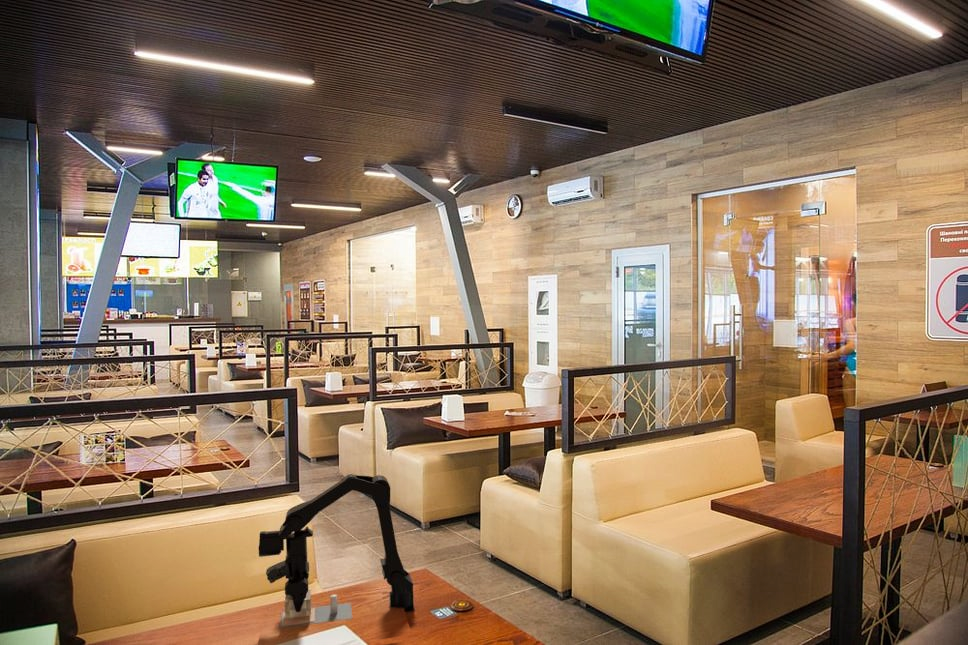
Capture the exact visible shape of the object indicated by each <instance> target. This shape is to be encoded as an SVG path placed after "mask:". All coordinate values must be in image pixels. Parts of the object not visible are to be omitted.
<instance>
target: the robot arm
mask: <svg viewBox="0 0 968 645" xmlns="http://www.w3.org/2000/svg"><path fill="white" fill-rule="evenodd" d="M352 491H354V492H359V493H362V494H365V495H368V496H372V498H373V502H374V504H375V507H376V510H377V514H378V516H377V517H378V519H379V527H380V532H381V538H382V543H383V548H384V558H380V559H379V560H380V566H381V572H382V577H383V579H384V580H386V583H387V584H388V585H390V589H391V590H390V591H389V593H388V594H389V597H388V598H389V606H390V608H398V609H403V611H404V612H409V611H415V610H416V608H415V605H414V582H413V580H412V577H411V575H410V573H409V572H408V571H407V570H406V569H405V568H404V565H403V563H402V560H401V558H400V554H399V552H398V547H397V541H396V536H395V530H394V526H393V518H392V512H391V508H390V507H391V485H390V482H389V481H388V479H387V477H385V475H380V474H379V475H378V474H377V475H375V476H370V475H357V474H354V473H350V474H347V475H346V476H345V477H344V478H343V479H341V480H340V481H338V482H336V483H334V484H333V485H332V486H330V487H329V488H327V489H326V490H324V491H323V492H321V493H320V494H318V495H317V496H315V497H313V498H312V499H309V500H308V501H304V502H300V503H299V504H297V505H295V506H291V508H289V509H288V510H287V512H286V514H285V520H284V521H283V523H282V524H281V525H280V527H279V530H272V531H266V530H265V531H260V532H259V540H258V541H259V543H258V557H259V558H264V557H270V556H280V555H281V554H282V552H283V551H284V550H285V549H286V550H285V551H286V553H285V554H286V555H285V560H282V561H280V562H278V563H275V564H273V565H272V566H268V567H267V568H266V570H265V571H266V572H265V575H266V577H267V580H268V581H269V584H274V583H275V582H276V581H278V580H280V579H282V578H284V577H285V579H287V580H286V582H285V585H284V595H285V596H286V595H290V596H292V599H293V603H294V606H295V610H296V612H300V610H301V608H302V605H303V602H304V600H305V597H306V594H307V592H308V590H309V575H310V573H309V572H310V562H309V561H308V543H307V542H308V540H307V539H308V538H311V537H313V536H314V531H313V530H312V529H310V528H309V526H307V525H308V524H309V523H310V522H311V521H312V520H313V519H314V518H315V516H317V515H318V514H319V513H320V512H321V511H323V510H325V509H326V508H328V507H329V506H331V505H332V504H334V503H335V502H336V501H338V500H340V499H341V498H343V497H344V496H346V495H348V493H350V492H352ZM285 545H286V546H285ZM285 547H286V548H285Z"/></svg>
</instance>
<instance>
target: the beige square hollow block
mask: <svg viewBox="0 0 968 645" xmlns="http://www.w3.org/2000/svg"><path fill="white" fill-rule="evenodd" d="M311 590H312V589H308V592H307V594H306V597H305V600H304V602H303V605H302V608H301V610H300V612H296V610H295V606H294V603H293V599H292V596H290V595H285V598H284V611H285V618H293V617H300V616H308V615H311V608H312V597H311V596H312V594H311V592H312V591H311Z"/></svg>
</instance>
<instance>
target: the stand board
mask: <svg viewBox="0 0 968 645" xmlns="http://www.w3.org/2000/svg"><path fill="white" fill-rule="evenodd" d="M329 600H330V603H329V605H322V606H321V605H320V606H313V607H311V615H308V616H300V617H293V618H285V610H284V611H283V610H282V611H281V613H280V614H281V615H280V619H279V620H280V622H279V629H282V628H283V629H285V628H292V627H299V626H306V625H313V624H321V623H322V624H323V623H329V622H336V621H342V620H343V621H344V620H345V621H346V620H350V619H353V612H352V603H351V602H346V603H338V595H337V594H331V595H330V596H329Z"/></svg>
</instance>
